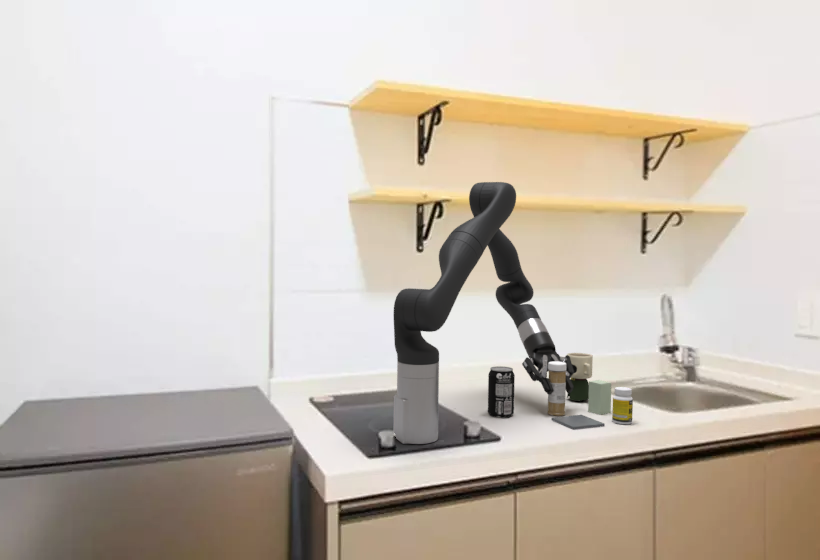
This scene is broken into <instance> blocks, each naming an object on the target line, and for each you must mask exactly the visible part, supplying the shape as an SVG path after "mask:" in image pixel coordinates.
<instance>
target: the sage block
mask: <svg viewBox="0 0 820 560" xmlns="http://www.w3.org/2000/svg"><path fill="white" fill-rule="evenodd" d="M588 383H589V398H588V399H587V400H588V403H587V404H588V405H587V406H588V407H587V412H589V413H591V414H594V415H595V414H596V415H599V416H603V415H608V414H612V413H611V412H612V411H611V410H612V407H611V406H612V382H610V381H605V380H602V379H598V380H597V379H596V380H590V381H588Z"/></svg>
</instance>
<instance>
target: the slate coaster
mask: <svg viewBox="0 0 820 560" xmlns="http://www.w3.org/2000/svg"><path fill="white" fill-rule="evenodd" d="M550 420H551V421H553V422H555V423H557V424H560V425H562V426H564V427H566V428H569V429H571V430H580V429H581V430H583V429H591V428H600V426H601V427H605V424H606V423H604V422H602V421H599V420H597V419H594V418H591V417H588V416H586V415H583V414H576V415H575V414H574V415H562V416H554V417H553V416H552V417H551V419H550Z"/></svg>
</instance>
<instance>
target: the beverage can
mask: <svg viewBox="0 0 820 560" xmlns="http://www.w3.org/2000/svg"><path fill="white" fill-rule="evenodd" d="M487 377H488V379H487V380H488V381H487V382H488V385H487V387H488V390H487V391H488V392H487V413H488V414H489V415H490V416H491V417H494V418H501V419H502V418H503V419H504V418H505V419H507V418H510V417H512V416H513V414H514V413H515V378H516V377H515V373H514V368H512V367H511V366H501V365H498V366H491V367H490V370H489V372H488V376H487Z"/></svg>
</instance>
